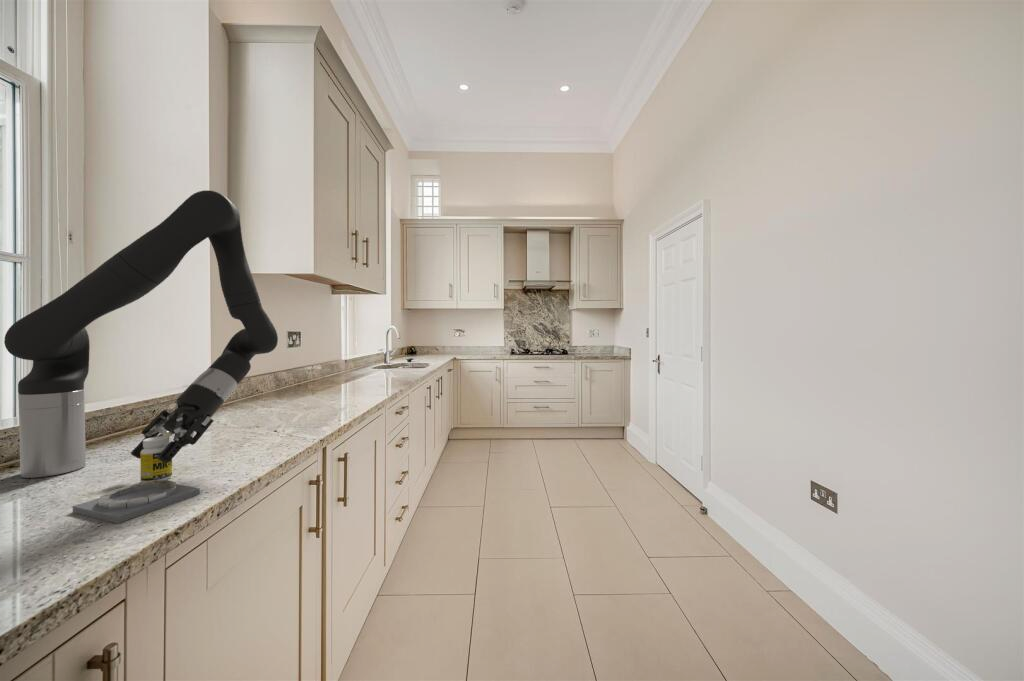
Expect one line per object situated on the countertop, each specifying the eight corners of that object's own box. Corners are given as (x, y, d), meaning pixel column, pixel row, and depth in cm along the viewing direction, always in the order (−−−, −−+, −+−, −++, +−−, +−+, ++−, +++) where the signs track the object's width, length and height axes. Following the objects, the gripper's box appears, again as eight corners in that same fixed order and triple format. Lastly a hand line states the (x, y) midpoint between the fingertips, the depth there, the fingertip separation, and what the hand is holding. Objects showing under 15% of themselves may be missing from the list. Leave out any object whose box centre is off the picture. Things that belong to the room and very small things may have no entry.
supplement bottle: (153, 484, 77) (152, 442, 77) (134, 483, 78) (133, 441, 78) (178, 476, 82) (177, 435, 82) (160, 474, 83) (159, 434, 82)
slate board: (72, 512, 65) (72, 506, 65) (158, 485, 77) (157, 480, 77) (116, 523, 61) (116, 517, 61) (199, 493, 73) (199, 488, 73)
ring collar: (85, 504, 66) (85, 498, 66) (154, 483, 75) (154, 478, 75) (121, 513, 63) (121, 506, 63) (189, 489, 72) (189, 484, 72)
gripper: (174, 381, 89) (109, 446, 78) (218, 383, 84) (155, 453, 74) (199, 400, 94) (142, 464, 83) (242, 404, 89) (187, 471, 79)
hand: (148, 458), depth 78 cm, fingers open, 8 cm apart
